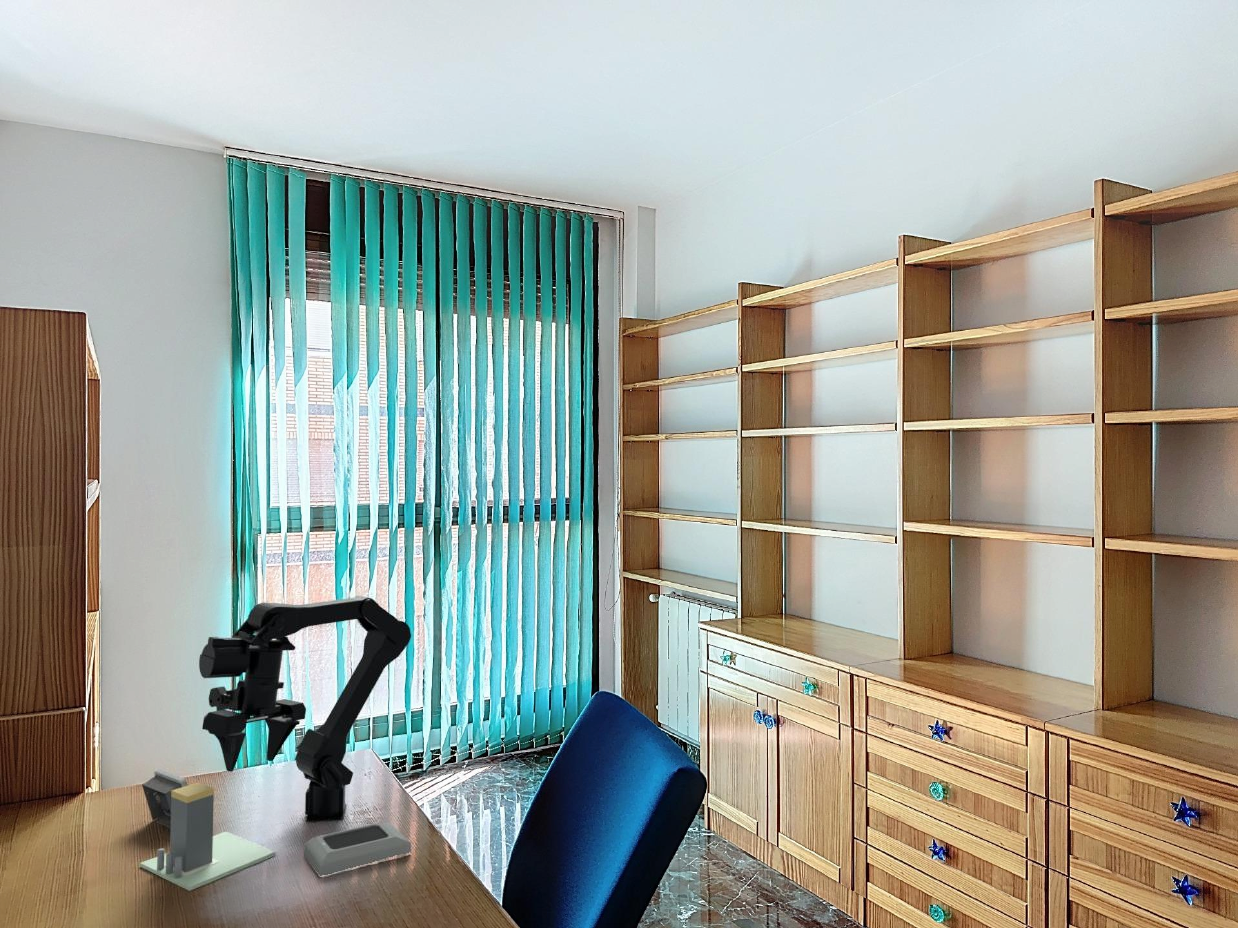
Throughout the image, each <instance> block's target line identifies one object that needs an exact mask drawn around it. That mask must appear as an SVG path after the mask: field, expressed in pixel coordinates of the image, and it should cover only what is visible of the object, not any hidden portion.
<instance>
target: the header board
mask: <svg viewBox="0 0 1238 928" xmlns="http://www.w3.org/2000/svg"><path fill="white" fill-rule="evenodd" d="M274 856H276V851H274V850H272V849H269V848H267V847H264V846H263V845H260V844H258V843H255V842H253V841H250V840H247V839H245V838H244V837H243V838H242V837H240V836H238V835H236V834H233V833H231V832H228V831H222V832H220V833H217V834H216V835H213V851H212V862H211V863H209V864H206V865H203V866H201V867H198V868H196V869H193V870H191V871H188V872H184V871H182V857H181V856H179V857H176V858H175V867H173V853H172V852H170V851H169V852H166V853H165V848H158V849H157V856H155V857H152V858H150V859H147V860H145V861H142V862H140V864H139V866H140V868H142V869H144V870H146V871H149V872H150V873H153V874H155V875H157V876H159V877H161V878H162V879H165V880H167V881H169V882H171V883H172V884H174V885H176V886H179V887H180V888H183V889H185V890H187V891H193V890H194V889H198V888H199V887H202V886H206V885H207V884H209V883H212V882H214V881H216V880H219V879H222V878H224V877H227V876H229V875H231V874H235V872H239V871H241V870H243V869H246V868H249V867H250V866H253V865H255V864H257V863H261V862H262V861H265V860H267V859H270V858H272V857H274Z"/></svg>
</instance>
